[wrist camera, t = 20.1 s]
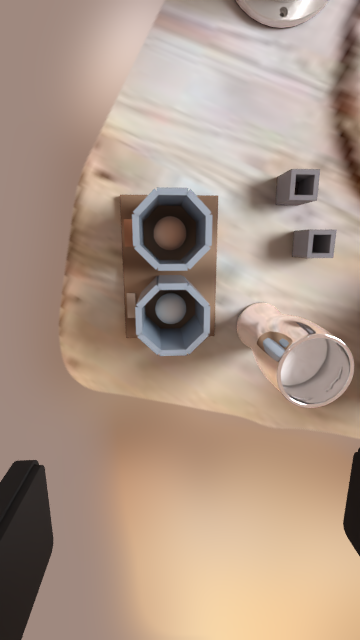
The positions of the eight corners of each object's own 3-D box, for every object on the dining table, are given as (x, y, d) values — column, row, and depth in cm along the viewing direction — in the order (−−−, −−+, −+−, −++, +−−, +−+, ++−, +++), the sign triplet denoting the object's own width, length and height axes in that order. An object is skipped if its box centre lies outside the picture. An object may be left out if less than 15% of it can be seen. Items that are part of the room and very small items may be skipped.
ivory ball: (155, 290, 37) (154, 296, 34) (185, 290, 38) (187, 295, 34) (155, 319, 38) (155, 327, 35) (185, 319, 38) (187, 327, 35)
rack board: (121, 195, 35) (119, 194, 34) (216, 196, 36) (218, 195, 35) (126, 335, 39) (126, 338, 38) (213, 334, 40) (214, 336, 39)
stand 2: (294, 231, 37) (309, 229, 34) (318, 231, 38) (336, 229, 34) (291, 256, 38) (306, 257, 34) (315, 256, 38) (333, 257, 34)
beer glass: (221, 327, 40) (257, 375, 25) (261, 287, 39) (321, 314, 24) (258, 361, 41) (311, 425, 27) (296, 324, 40) (373, 369, 26)
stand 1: (277, 176, 36) (291, 168, 32) (302, 177, 36) (320, 169, 32) (275, 204, 37) (289, 200, 33) (300, 204, 37) (317, 200, 33)
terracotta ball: (154, 217, 35) (152, 214, 32) (185, 217, 36) (187, 214, 32) (154, 250, 36) (152, 250, 33) (185, 250, 36) (187, 250, 33)
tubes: (137, 199, 35) (131, 187, 27) (201, 200, 35) (213, 188, 27) (141, 333, 39) (136, 356, 31) (199, 332, 39) (209, 354, 31)
